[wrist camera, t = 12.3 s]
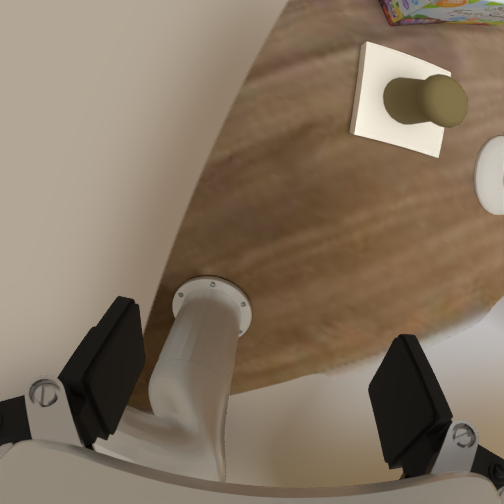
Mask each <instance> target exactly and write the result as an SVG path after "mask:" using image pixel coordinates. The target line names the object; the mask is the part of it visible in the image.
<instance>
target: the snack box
mask: <svg viewBox="0 0 504 504" xmlns="http://www.w3.org/2000/svg"><path fill="white" fill-rule="evenodd" d="M379 1H380V3H381V5H382V7H383V10H384V12H385V14H386V16H387V19H388V21H389V24H390V25H391V26H396V25H410V24H433V23H458V24H478V25H489V26H497V25H502V24H504V0H379Z"/></svg>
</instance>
